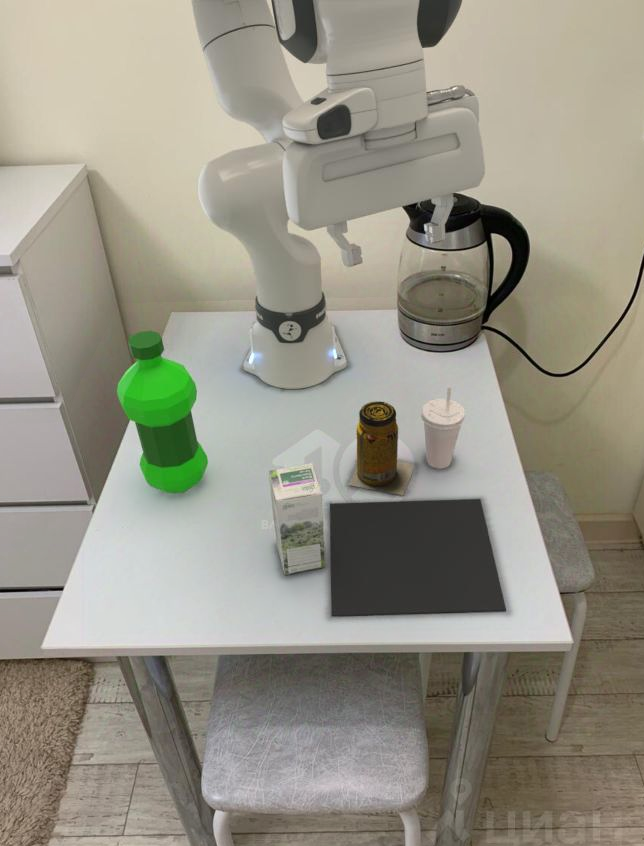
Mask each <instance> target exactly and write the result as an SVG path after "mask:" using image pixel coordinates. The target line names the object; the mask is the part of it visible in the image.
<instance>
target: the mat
mask: <svg viewBox="0 0 644 846" xmlns="http://www.w3.org/2000/svg"><path fill="white" fill-rule="evenodd" d="M329 533H330V534H329V537H330V538H329V539H330V541H329V542H330V543H329V545H330V546H329V547H330V598H331V599H330V611H331V613H330V616H331V617H333V618H334V617H361V616H362V617H363V616H393V615H396V616H397V615H425V614H429V615H430V614H455V613H458V614H459V613H487V612H488V613H490V612H491V613H492V612H493V613H494V612H507V607H506V603H505V598H504V594H503V590H502V586H501V581H500V578H499V573H498V568H497V565H496V560H495V556H494V551H493V546H492V542H491V538H490V535H489V530H488V525H487V521H486V516H485V512H484V509H483V504H482V499H481V498H467V499H465V498H464V499H433V500H432V499H430V500H401V501H400V500H399V501H371V502H370V501H369V502H365V501H364V502H338V503H336V502H334V503H329Z"/></svg>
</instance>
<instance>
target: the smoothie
mask: <svg viewBox="0 0 644 846" xmlns="http://www.w3.org/2000/svg"><path fill="white" fill-rule="evenodd" d="M451 397H452V386H451V385H448V386H447V390H446V398H435V399H432V400H429V401H427V402H426V403H424V405H423V406H422V409H421V414H420V417H421V419H422V421H423V427H424V429H423V430H424V442H425V452H426V453H425V454H426V455H425V456H426V463H427V465H428V466H430V467H431V468H433V469H438V470H440V469H446V468H448V467H449V466H450V465H451V463H452V460H453V456H454V452H455V448H456V444H457V441H458V437H459V433H460V430H461V426H462V425H463V423H464V422H465V418H466V411H465V408H464V406H462V405H461V404H460V403H459V402H457V401H455V400H453V399H452V398H451Z"/></svg>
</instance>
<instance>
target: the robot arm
mask: <svg viewBox="0 0 644 846" xmlns="http://www.w3.org/2000/svg"><path fill="white" fill-rule="evenodd" d="M270 3H271V9H272V12H271V9H270V5H269V3H268V0H191V6H192V13H193V17H194V23H195V27H196V31H197V35H198V40H199V43H200V47H201V50H202V54H203V56H204V60H205V63H206V67H207V70H208V73H209V76H210V79H211V83H212V86H213V89H214V92H215V96H216V99H217V102H218V104H219V106H220V108H221V109H222V110H223V111H224V112H225V113H226V114H227V115H228V116H229V117H231V118H232V119H234V120H236V121H239V122H241V123H245V124H247V125H250V126H251V127H252V128H254V129H255V130H256V131H257V132H258V133H259V134H260V135H261V136H262V137H263V139H264V141H265V143H261V144H257V145H253V146H252V145H251V146H248V147H243V148H239V149H234V150H231V151H229V152H226V153H224V154H222V155H220V156H218V157H216V158H214V159H212V160H210V161H208V162H206V163H204V165H203V167H202V169H201V171H200V174H199V176H198V181H197V195H198V199H199V203H200V206H201V208H202V210H203V212H204V214H205V215H206V217H207V219H209V221H210V222H212V224H214V225H215V226H216V227H217V228H219V229H221V230H222V231H225V232H227V233H229V234H230V235H232V236H233V237H234V238H235V239H237V240H238V241H239V242H240V243H241V244H242V246H243V247H244V249H245V250H246V252H247V254H248V256H249V258H250V263H251V268H252V271H253V278H254V284H255V291H256V296H255V298H254V303H255V304H254V312H255V316H256V318H254V319H253V320H252V323H251V324H252V325H251V326H250V328H249V339H250V340H249V341H250V349H249V350H248V353H247V355H246V357H245V360H244V362H243V370H244V371H245V372H247V373H249V374H252V375H255V376H256V377H257V378H259V379H260V380H261V381H262V382H263V383H265V384H267V385H269V386H271V387H276V388H279V389H286V390H287V389H288V390H293V389H294V390H296V389H305V388H309V387H314V386H316V385H319V384H320V383H322V382H325V381H326V380H328V378H330V377H331V376H332V375H333V374H334V373H336V372H339V371H342V370H344V369H345V368H346V367H347V366H348V361H347V357H346V356H345V353H344V351H343V348H342V346H341V343H340V341H339V338H338V335H337V333H336V330H335V326H333V324H332V322H331V320H330V318H329V316H328V315H327V310H326V309H327V301H326V297H325V292H324V291H323V281H322V280H323V279H322V277H323V276H322V258H321V254H320V252H319V250H318V248H317V246H316V245H315V244H314V243H313V242H311V240H309V239H307V238H306V237H304V236H301V235H298V234H296V233H291V232H289V229H288V223H289V220H290V221H291V222H292V223H293V224H294V225H296V226H297V227H299V228H300V229H302V230H304V231H307V232H310V231H314V230H317V229H322V228H326V232H327V234H328V235H329V237H331V239H332V240H333V241H334V242H335V244H336V245H337V246H338V248H340V254H341V260H342V263H343V265H344V266H345V267H347V268H353V267H355V266H358V265H362V264H363V257H362V254H363V253H362V247H361V246H359V245H357V244H356V243H354V242H353V243H350V242H349V241H348V239H347V238H346V236H345V235H344V234H347V233H348V232H349V229H348V221H353V220H356V219H359V218H364V217H368V216H371V215H375V214H379V213H382V212H386V211H387V212H388V211H391V210H393V209H398V208H402V207H405V206H409V205H414V204H417V203H421V202H424V201H428V200H431V204H432V205H435V207H434V210H433V214H432V215H431V220H430V222H427V223H424V224H423V230H424V232H425V233H424V238H425V241H426V243H428V244H429V243H430V244H431V245H433V244H438V243H441V242H444V241H445V240H446V223H447V222H448V219H449V216H450V213H451V211H452V209H453V207H454V205H455V204H454V203H455V202H454V194H456V193H459V192H463V191H467V190H471V189H475V188H478V187H479V186H480V185H481V183H482V181H483V179H484V177H485V174H486V166H485V165H486V164H485V155H484V154H485V153H484V147H483V141H482V136H481V130H480V126H479V122H480V108H479V107H480V106H479V100H478V99H479V98H478V97H477V95H476V94H475V93H474V92H473V91H472V90H471V89H468V88H466V87H465V86H464V85H463V84H462V85H461V84H458V85H453V86H449V88H444V89H435V90H430V91H427V81H426V80H427V79H426V65H425V53H424V50H423V49H428V48H434V47H436V46H437V45H438V44H439V43H440V42H441V40H443V38H444V36H445V35H446V34H447V33H448V31H449V30H450V28H451V26H453V23H454V21H455V20H456V18H457V16H458V14H459V12H460V9H461V7H462V3H463V0H270ZM272 14H273V15H272ZM282 47H283V48H284V49H285V50H286V51H287V52H288V53H289V54H290V55H291V56H293V57H294V58H296V59H297V60H298V61H299V62H301V63H303V64H311V65H324V64H326V67H325V75H326V83H327V87H326V88H324V89H323V90H321V91H320V92H319V93H317V94H316V95H314V96H313V97H311V98H309V99H308V100H306V101H305V102H304V100H303V98H302V97H301V96H300V93H299V92H298V90H297V87H296V86H295V84H294V82H293V79H292V76H291V73H290V70H289V66H288V64H287V61H286V58H285V55H284V52H283V49H282ZM465 95H467V96H465Z"/></svg>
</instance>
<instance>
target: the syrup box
mask: <svg viewBox="0 0 644 846" xmlns="http://www.w3.org/2000/svg"><path fill="white" fill-rule="evenodd" d="M268 480H269V490H270V497H271V507H272V513H273V522H274V532H275V540H276V541H275V542H276V547H277V550H278V554H279V555H278V556H279V557H280V558H279V559H280V562H281V566H282V571H283V574H284V576H289V575H294V574H299V573H305V572H308V571H313V570H319V569H323V568H325V567H326V554H325V552H326V551H325V532H324V531H325V530H324V527H325V526H324V508H323V507H324V506H323V493H322V490H321V487H320V484H319V481H318V478H317V475H316V471H315V469H314V466H313V464H312V463H305V464H301V465H295V466H290V467H283V468H278V469H272V470H268Z"/></svg>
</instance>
